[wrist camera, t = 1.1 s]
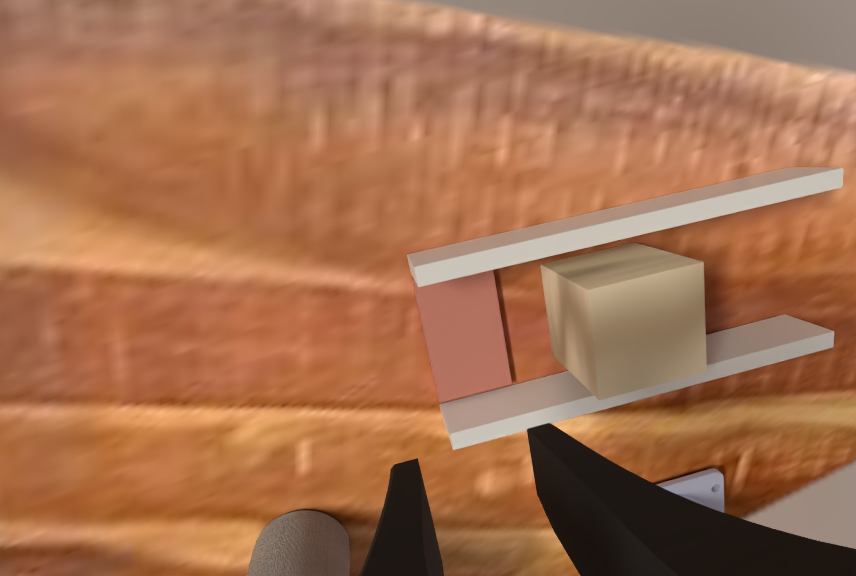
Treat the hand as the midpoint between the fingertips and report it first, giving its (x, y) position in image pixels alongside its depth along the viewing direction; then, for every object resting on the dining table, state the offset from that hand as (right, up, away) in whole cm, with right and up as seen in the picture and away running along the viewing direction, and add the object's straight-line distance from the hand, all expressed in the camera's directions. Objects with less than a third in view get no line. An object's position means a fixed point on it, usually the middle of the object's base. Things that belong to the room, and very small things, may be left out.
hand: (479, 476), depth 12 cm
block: (+6, +4, +10) cm, 12 cm away
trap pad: (0, +3, +9) cm, 10 cm away
